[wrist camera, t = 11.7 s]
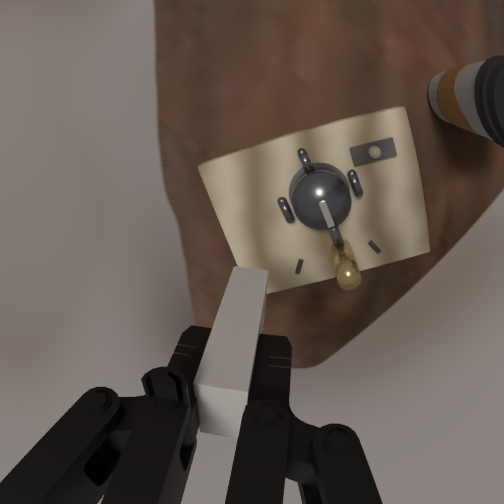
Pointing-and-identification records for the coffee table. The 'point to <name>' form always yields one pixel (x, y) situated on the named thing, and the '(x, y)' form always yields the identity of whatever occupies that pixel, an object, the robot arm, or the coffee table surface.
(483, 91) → the coffee cup
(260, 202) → the lever board
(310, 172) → the grey round handled piece
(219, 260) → the coffee table surface
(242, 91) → the coffee table surface
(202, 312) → the coffee table surface
